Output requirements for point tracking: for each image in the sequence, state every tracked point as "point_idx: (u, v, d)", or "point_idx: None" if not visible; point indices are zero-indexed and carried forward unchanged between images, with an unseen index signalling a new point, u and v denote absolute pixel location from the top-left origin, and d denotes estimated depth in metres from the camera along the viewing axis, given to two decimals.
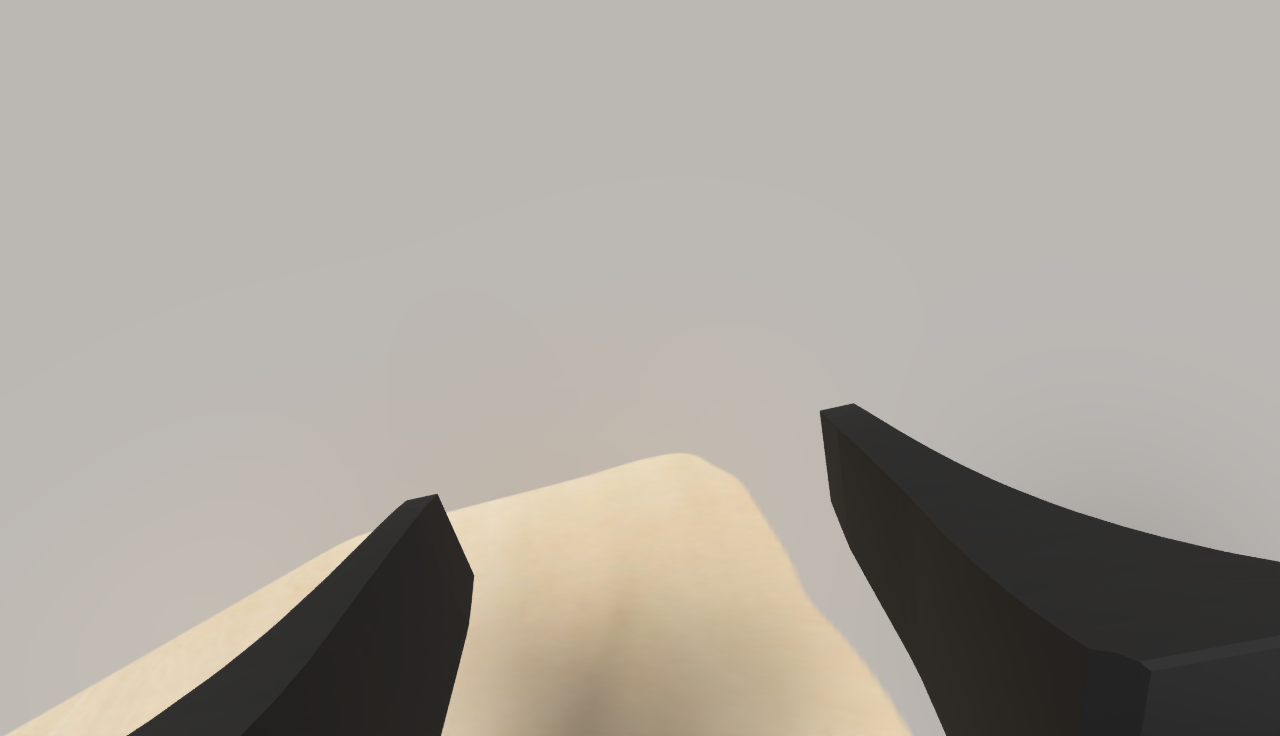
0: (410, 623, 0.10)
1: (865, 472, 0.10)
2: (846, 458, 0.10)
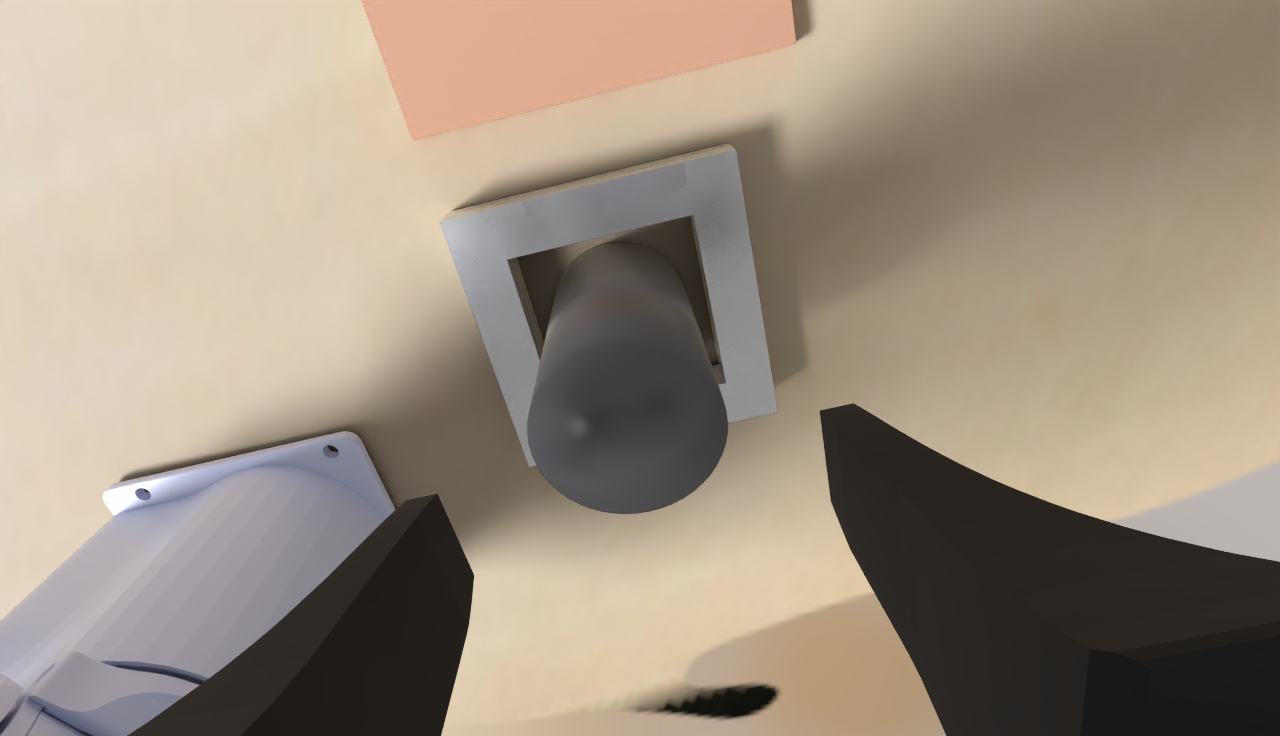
0: (410, 623, 0.10)
1: (865, 472, 0.10)
2: (846, 458, 0.10)
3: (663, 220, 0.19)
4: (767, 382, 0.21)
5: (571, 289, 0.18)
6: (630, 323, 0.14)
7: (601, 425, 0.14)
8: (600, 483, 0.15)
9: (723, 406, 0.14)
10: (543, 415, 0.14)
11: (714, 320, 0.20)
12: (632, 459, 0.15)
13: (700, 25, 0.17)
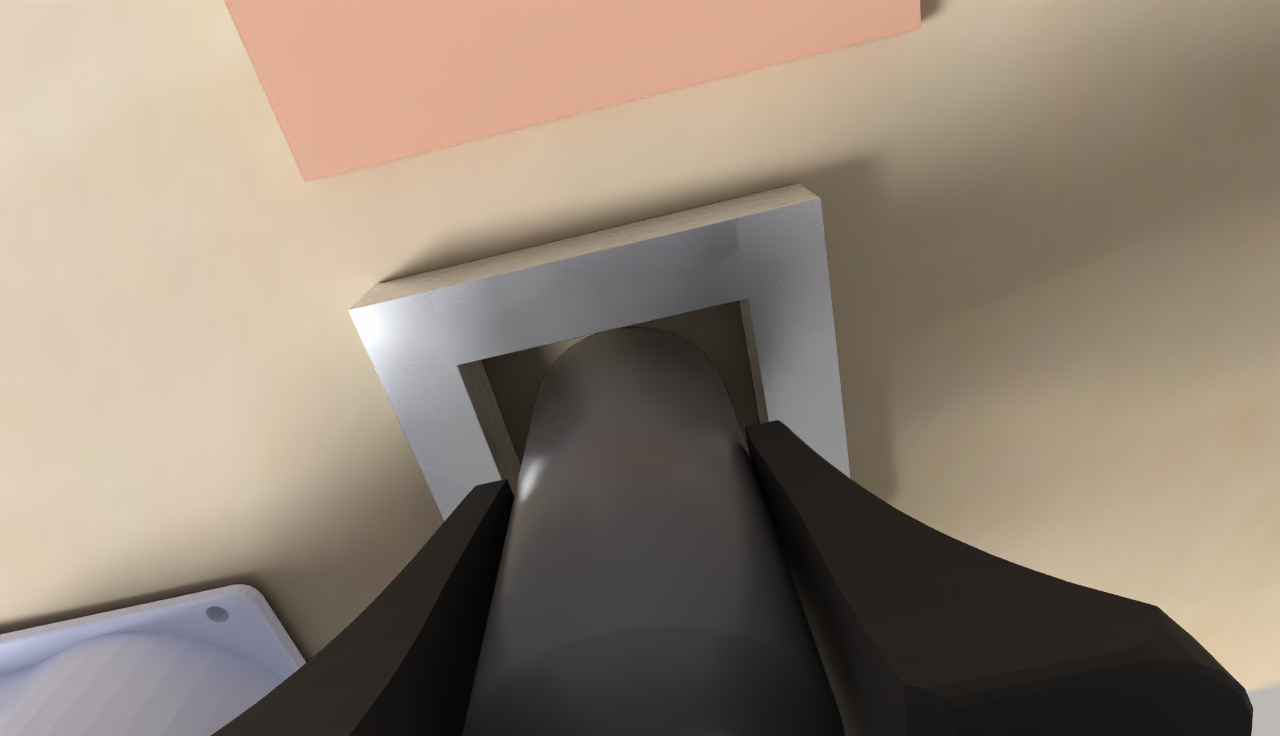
0: None
1: (775, 491, 0.10)
2: (763, 476, 0.10)
3: (701, 306, 0.12)
4: None
5: (555, 424, 0.11)
6: (659, 559, 0.07)
7: None
8: None
9: (838, 722, 0.07)
10: None
11: None
12: None
13: None
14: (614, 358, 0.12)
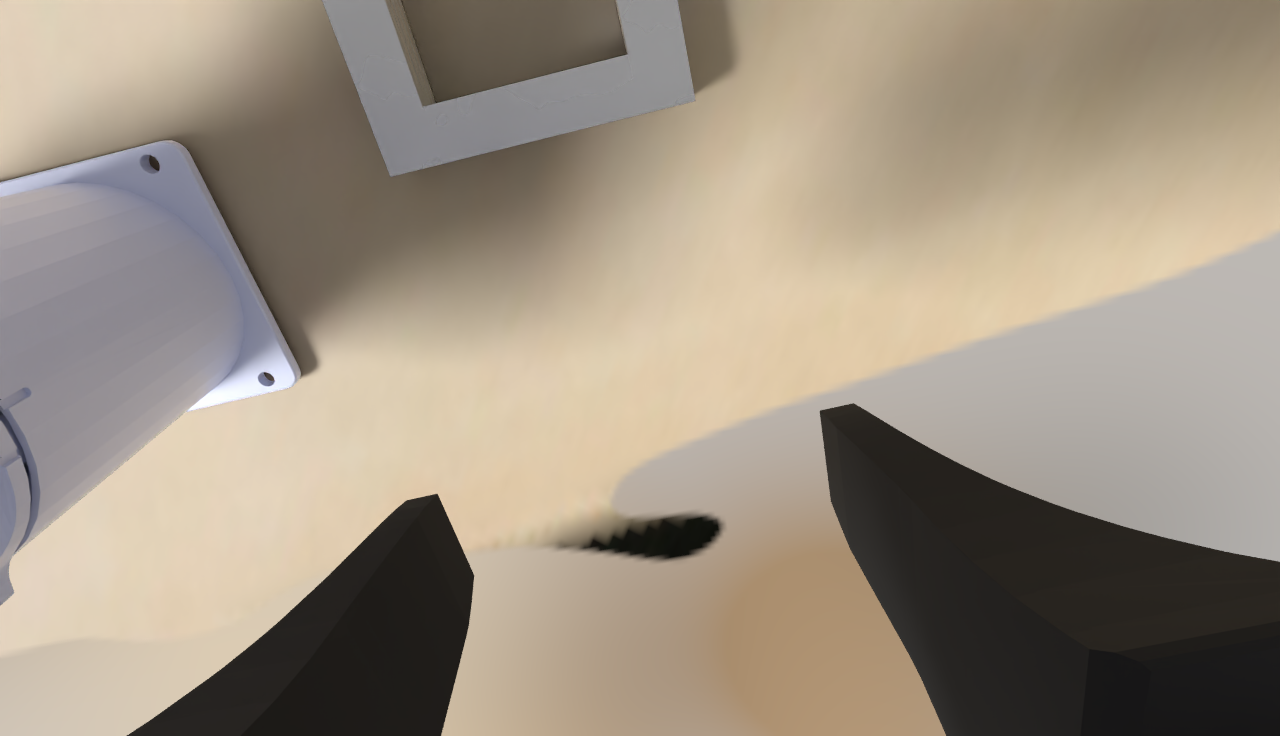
0: (410, 622, 0.10)
1: (865, 472, 0.10)
2: (846, 458, 0.10)
3: None
4: (680, 55, 0.17)
5: None
6: None
7: None
8: None
9: None
10: None
11: None
12: None
13: None
14: None
